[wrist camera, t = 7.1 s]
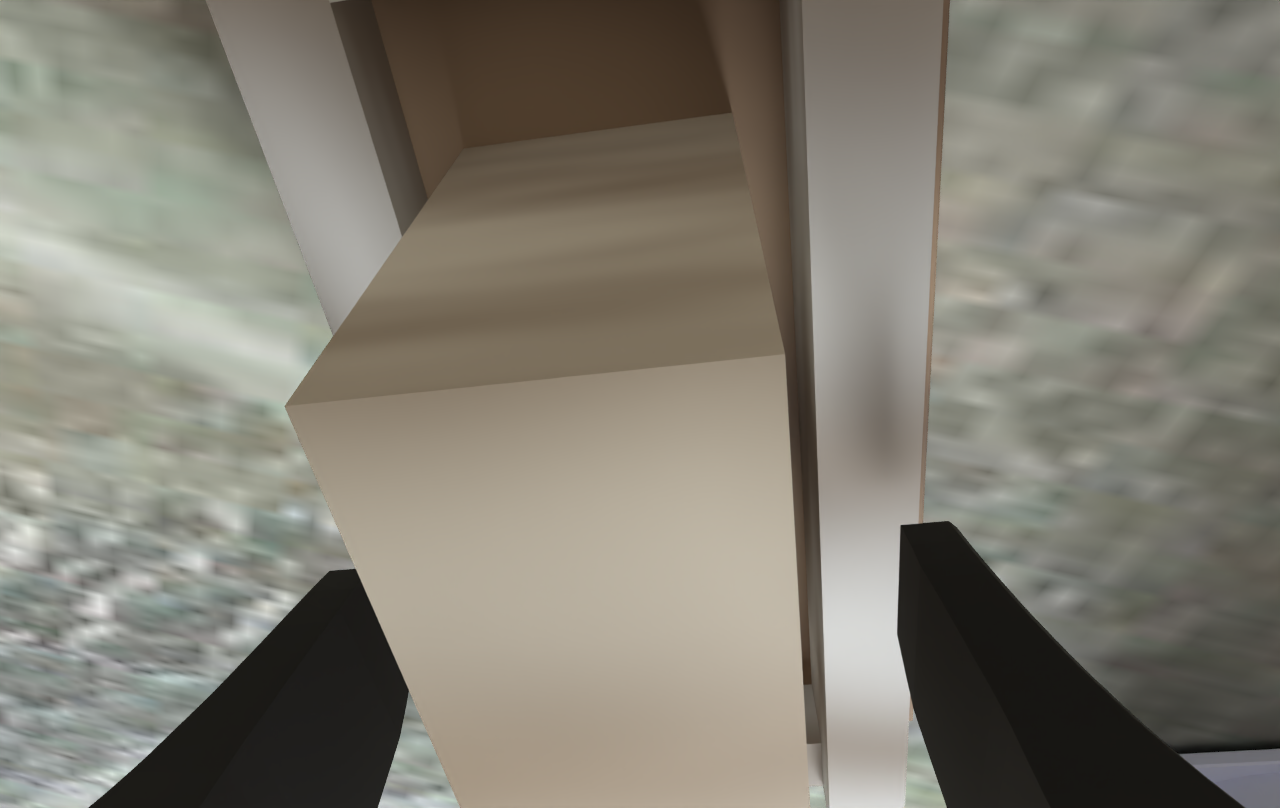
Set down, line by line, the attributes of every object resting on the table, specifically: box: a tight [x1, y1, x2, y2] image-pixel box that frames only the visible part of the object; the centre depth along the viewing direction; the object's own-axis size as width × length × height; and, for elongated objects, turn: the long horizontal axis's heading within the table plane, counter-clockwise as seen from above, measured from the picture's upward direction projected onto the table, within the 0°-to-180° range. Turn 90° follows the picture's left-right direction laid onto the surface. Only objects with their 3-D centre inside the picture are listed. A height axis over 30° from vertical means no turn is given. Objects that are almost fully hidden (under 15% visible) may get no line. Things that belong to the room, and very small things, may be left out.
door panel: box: [285, 113, 810, 808], centre depth 12 cm, size 10×4×7 cm, turn 8°
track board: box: [205, 0, 950, 808], centre depth 15 cm, size 18×10×4 cm, turn 8°
